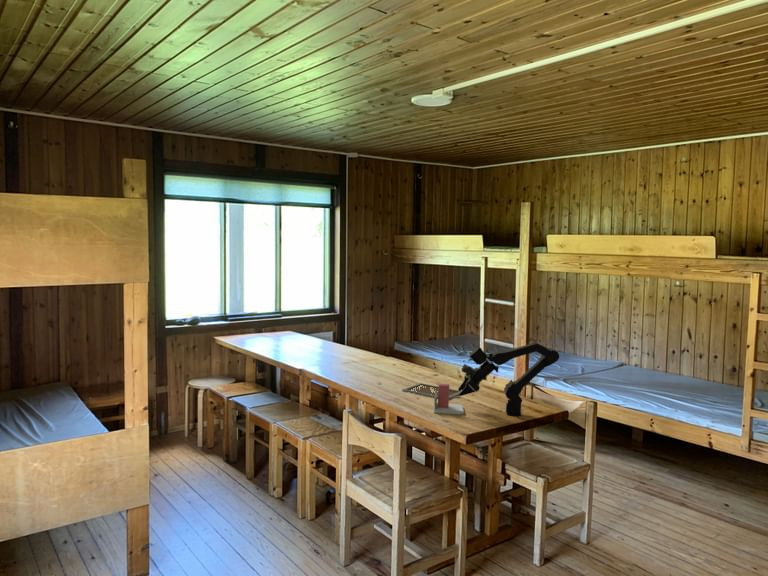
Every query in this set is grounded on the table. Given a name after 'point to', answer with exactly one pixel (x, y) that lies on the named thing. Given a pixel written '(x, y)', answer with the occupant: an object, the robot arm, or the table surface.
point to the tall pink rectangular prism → (443, 395)
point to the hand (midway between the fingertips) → (459, 392)
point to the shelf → (450, 410)
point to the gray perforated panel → (428, 392)
